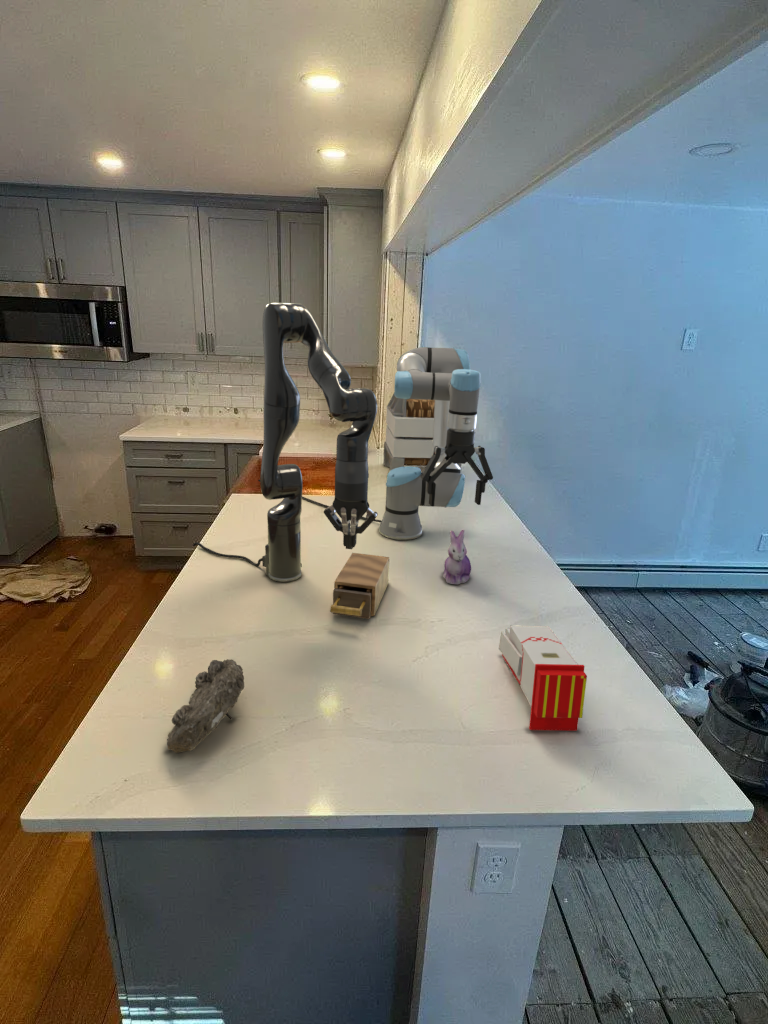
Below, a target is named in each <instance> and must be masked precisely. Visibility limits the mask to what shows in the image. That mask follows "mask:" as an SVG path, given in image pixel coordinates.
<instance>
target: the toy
mask: <svg viewBox="0 0 768 1024" xmlns="http://www.w3.org/2000/svg"><path fill="white" fill-rule="evenodd" d="M499 635H500V636H499V643H498V650H499V652H500V653H501V657H502V658H503V660H504V662H505V663H506V665H507V667H508V669H509V670H510V671H511V673H512V675H513V676H514V678H515V680H516V681H517V683H518V685H520V689H521V691H522V692H523V695H524V696H525V698H526V700H527V702H528V704H529V706H530V715H529V725H528V729H529V731H562V732H563V731H569V732H570V731H572V732H577V731H578V727H579V719H582V718H583V713H584V705H585V697H586V689H587V688H586V687H587V678H588V675H587V673H586V672H585V665H584V664H579V663H578V662H577V661H576V660H575V658H574V657H573V656H572V654H571V653H570V652H569V651H568V649H567V648H566V646H565V645H564V644H563V643H562V642H561V640H560V639H559V637H558V636H557V635H556V633H555V632H554V631H553V630H552V629H551V627H550V626H549V625H516V624H515V625H514V624H513V625H512V624H511V625H510V626H509V627H505V632H504V631H500V634H499Z"/></svg>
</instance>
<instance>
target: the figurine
mask: <svg viewBox="0 0 768 1024" xmlns="http://www.w3.org/2000/svg"><path fill="white" fill-rule="evenodd" d="M455 533H456V532H454V531H453V530H450V531H449V541H450V544H449V545H448V548H447V554H448V556H447V557H446V558H445V560H444V564H443V565H444V569H443V575H442V576H443V579H444V580H445V582H446V583H447V584H450V585H451V584H452V585H460V584H464V583H466V582H468V580H469V579H470V576H471V573H472V563H471V560H470V558H469V557H468V555H467V553H468V550H467V547H466V545H465V542H464V539H465V535H466V534H465V533H466V532H465V530H464V529H462V530H460V531H459V534H458V535H456V534H455Z"/></svg>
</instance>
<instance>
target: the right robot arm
mask: <svg viewBox="0 0 768 1024" xmlns="http://www.w3.org/2000/svg"><path fill="white" fill-rule="evenodd" d="M469 356H470V355H469V352H468V351H467V350H465V349H463V348H456V347H428V346H420V347H416V348H412V349H409V350H407V351H405V352H404V353H402V354H401V356H400V357H399V358H398V360H397V362H396V372H395V373H394V387H393V388H394V390H393V391H394V392H393V394H394V395H395V397H396V398H402V399H406V400H408V399H422V400H435V406H434V427H433V448H432V457H431V459H430V460H429V462H428V464H427V466H425V467H424V468H423V471H422V469H421V468H420V467H419V466H407V465H404V467H399V468H395V469H393V470H391V471H390V470H389V471H388V473H387V475H386V482H385V486H386V488H385V489H386V490H385V504H384V505H385V507H384V508H385V509H384V513H383V515H382V519H376V518H375V520H374V521H373V522H375V523H379V527H378V533H379V534H380V535H381V536H382V537H385V538H387V539H389V540H395V541H410V540H415V539H418V538H420V537H421V536H422V535H423V525H422V524H421V518H420V515H419V507H433V508H434V507H435V508H456V507H458V506H459V505H460V504H461V502H462V499H463V495H464V491H465V484H466V481H465V480H466V475H465V474H463V473H461V472H462V467H461V468H460V467H459V466H458V465H457V464H458V463H461V465H462V464H463V465H465V464H466V463H467V464H468V465H469V467H470V468H471V469H472V471H473V473H475V475H476V476H477V477H478V479H476V483H475V494H474V503H475V504H476V505H478V506H481V504H482V495H483V493H485V491H486V484H487V483H488V481H492V480H493V479H494V476H493V473H492V470H491V468H490V465H489V462H488V460H487V457H486V448H485V447H483V446H482V445H478V446H476V447H475V440H476V431H475V430H476V428H477V419H478V407H479V397H480V390H481V385H482V383H481V372H480V371H478V370H474V369H471V361H470V357H469ZM474 454H476V455H477V458H478V459H479V462H480V465H481V467H482V470H483V472H484V473H483V472H482V471H481V469H480V468H479V467H478V465H477V464H476V463H475V461H474V459H473V457H472V456H473V455H474ZM257 482H259V483H260V479H258V480H257ZM302 500H305V501H307V502H310V503H313V504H315V505H319V506H321V507H323V508H327V507H330V506H331V505H327V504H323V503H321V502H318V501H315V500H312V499H310V498H307V497H305V496H302ZM361 519H362V520H365V521H366V520H367V518H366V516H362V517H361ZM361 519H360V520H361Z"/></svg>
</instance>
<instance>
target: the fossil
mask: <svg viewBox="0 0 768 1024" xmlns="http://www.w3.org/2000/svg"><path fill="white" fill-rule="evenodd" d="M243 670H244V669H243V667H242V665H240V664H237V662H236V661H235V660H234V659H232V658H231V659H227V658H226V659H224V660H223V661H222V660H217V659H212V660H211V661H210V663H209V665H208V666H207V671H201V672H199V673H198V674H197V675H196V676H195V680H194V684H195V685H194V687H195V689H194V690H193V693H192V694H191V697H190V698H189V700H188V704H184V705H182V706H181V707H180V709H177V710H176V711H175V713H174V715H173V716H172V718H171V723H172V724H173V727H172V730H171V731H170V732H168V734H167V738H166V741H167V742H166V745H167V749H168V750H169V751H173V752H174V753H176V754H178V753H182V752H188V751H189V752H192V751H193V750H195V748H196V747H197V746H199V744H200V743H201V742H203V741H204V740H205V739H206V738H207V737H208V736H209V735H210V734H211V733H212V732H214V730H215V729H217V727H218V726H219V724H220V722H221V721H222V720H223V719H224V718H225V716H226V717H227V719H229V720H233V717H232V715H230V714H229V710H230V709H231V708H234V706H235V704H236V703H237V702H238V699H239V697H240V695H241V693H242V691H243V690H245V689H244V688H245V675H244V671H243Z"/></svg>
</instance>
